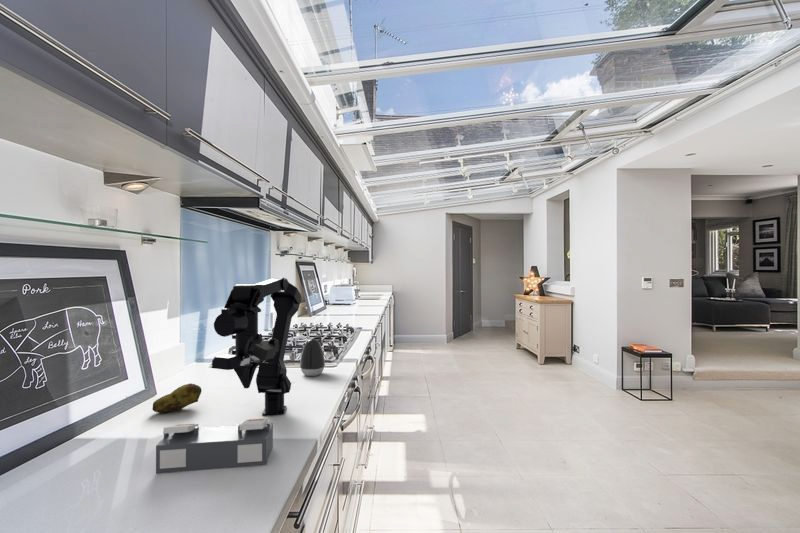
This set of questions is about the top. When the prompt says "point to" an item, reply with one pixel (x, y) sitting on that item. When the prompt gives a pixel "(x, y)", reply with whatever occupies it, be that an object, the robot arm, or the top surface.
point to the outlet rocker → (179, 428)
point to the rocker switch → (253, 424)
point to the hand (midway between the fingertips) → (246, 388)
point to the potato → (178, 398)
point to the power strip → (214, 448)
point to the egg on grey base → (312, 358)
